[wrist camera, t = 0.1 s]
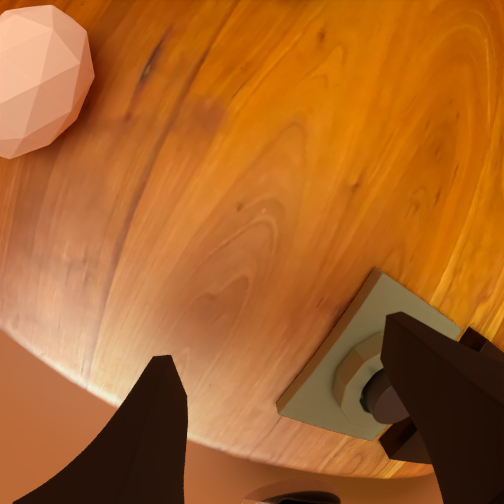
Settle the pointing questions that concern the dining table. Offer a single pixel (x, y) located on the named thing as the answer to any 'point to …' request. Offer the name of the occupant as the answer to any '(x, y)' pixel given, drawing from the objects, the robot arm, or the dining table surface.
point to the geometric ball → (40, 77)
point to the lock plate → (405, 432)
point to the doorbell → (354, 359)
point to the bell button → (383, 400)
